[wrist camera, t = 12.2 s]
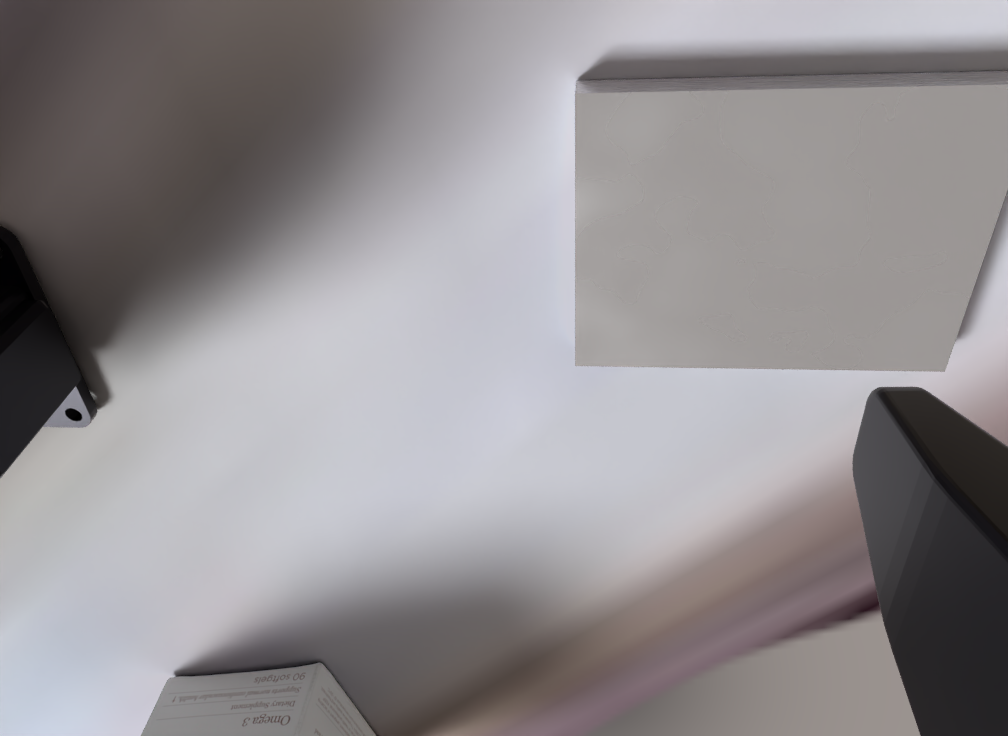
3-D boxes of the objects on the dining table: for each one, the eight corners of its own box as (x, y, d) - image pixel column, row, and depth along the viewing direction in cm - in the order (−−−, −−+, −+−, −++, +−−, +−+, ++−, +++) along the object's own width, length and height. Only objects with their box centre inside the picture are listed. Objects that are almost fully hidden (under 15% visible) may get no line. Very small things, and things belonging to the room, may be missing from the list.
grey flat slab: (576, 347, 21) (575, 366, 21) (576, 81, 17) (575, 93, 17) (934, 352, 21) (944, 371, 20) (1027, 70, 16) (1044, 83, 16)
